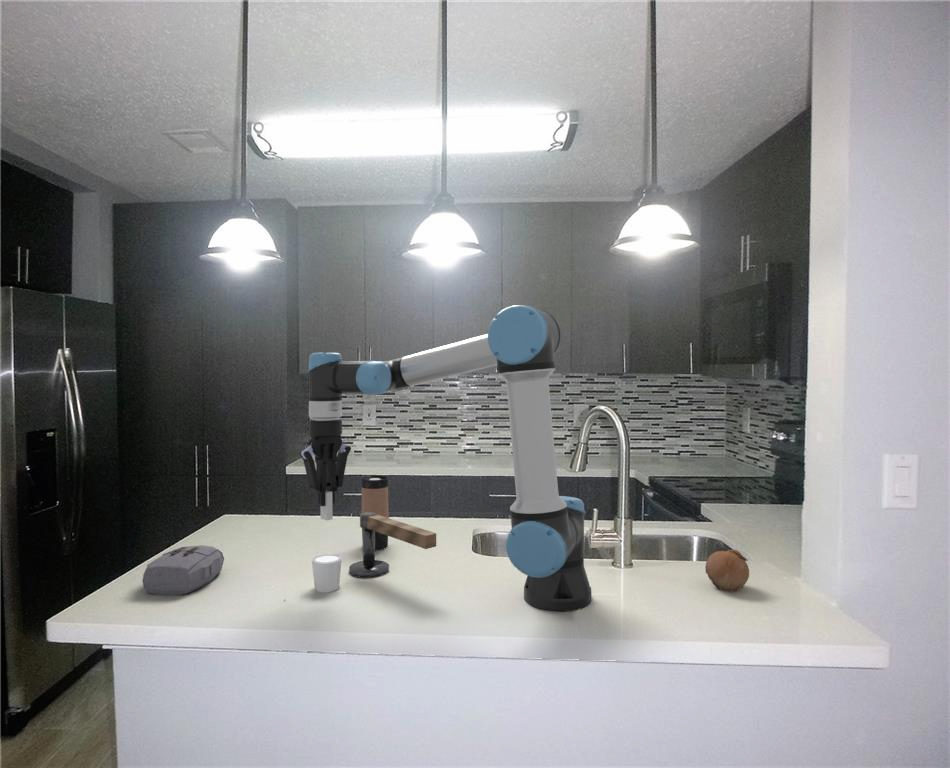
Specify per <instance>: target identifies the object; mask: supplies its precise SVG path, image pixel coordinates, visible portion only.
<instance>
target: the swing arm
mask: <svg viewBox="0 0 950 768" xmlns="http://www.w3.org/2000/svg"><path fill="white" fill-rule="evenodd" d="M359 527H360V528H361V529H362V528H367V529H370V530H373V531H376V532H379V533H382V534H384V535H387V536H388V537H390V538H393V539H396V540H399V541H402V542H405V543H408V544H410V545H413V546H416V547H419V548H422V549H424V550H428V549H432V548H436V547H437V533H436V532H433V531H430V530H427V529H424V528H421V527H417V526H414V525H411V524H408V523H405V522H402V521H399V520H395V519H392V518H386V517H383V516H380V515H378V514H377V513H373V512H367V513H362V512H361V513H360V514H359Z"/></svg>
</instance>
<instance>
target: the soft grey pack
mask: <svg viewBox="0 0 950 768" xmlns="http://www.w3.org/2000/svg"><path fill="white" fill-rule="evenodd" d="M224 561H225V557H224V553H223V552H222V551H221V550H220V549H218V548H216V547H214V546H210V545H209V546H208V545H189V546H181V547H178V548H175V549H172V550H169V551H168V552H166V553H162V555H160V556H159V557H158V558H156V559H154V560H153V561H151V562H150V563H148V564H147V565H146V568H145V570H144V573H143V574H142V584H143V585H142V586H143V588H144V590H145V592H146V593H147V594H152V595H155V596H180V595H181V596H182V595H185V594H188V593H191V592H194V591H196V590H199V589H201V588H202V587H204V586H205V585H208V584H209V583H210V582H211V581H212V580H213V579H214V578H215V577H217V576H218V574H219V573H220V572H222V570H223V565H224Z"/></svg>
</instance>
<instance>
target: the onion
mask: <svg viewBox="0 0 950 768" xmlns="http://www.w3.org/2000/svg"><path fill="white" fill-rule="evenodd" d="M746 561H747V559H746V557H744V555H742V552H740V551H738V550H736V549H726V550H716V551H714V552H713V553H711V554H710V555H709V556H708V558H707V560H706V563H705V573H706V575H707V577H708V579H709V581H711V583H712V584H713V586H714V587H715V588H716V589H718V590H720V589H721V590H724V591H728V592H738V591H739V590H742V589H743V588H744V587H745V584H747V582H748V580H749V578H750V569H749V565H748V562H746Z"/></svg>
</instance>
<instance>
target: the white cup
mask: <svg viewBox="0 0 950 768" xmlns="http://www.w3.org/2000/svg"><path fill="white" fill-rule="evenodd" d="M311 566H312V577H313V583H314V584H313V585H314V586H313V587H314V590H315V592H319V593H333V592H334V591H337V590H339V589H340V585H341V584H340V582H341V570H342V556H340V555H337V554H321V555H318V556H315V557H313V558H312V559H311Z"/></svg>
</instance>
